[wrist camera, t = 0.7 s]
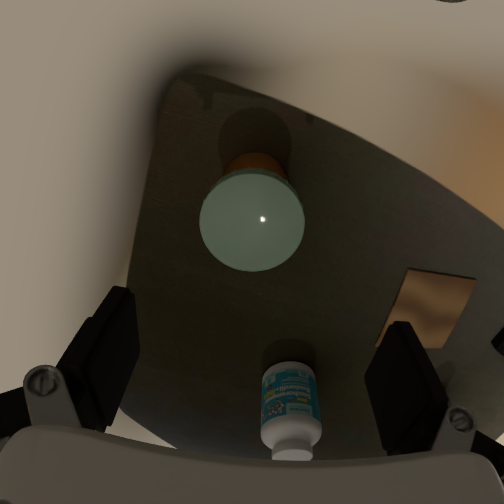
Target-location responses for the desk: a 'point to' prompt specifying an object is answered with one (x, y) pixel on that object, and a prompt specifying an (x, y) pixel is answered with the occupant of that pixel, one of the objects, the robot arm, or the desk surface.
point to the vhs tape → (499, 342)
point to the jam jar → (256, 163)
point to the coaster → (430, 305)
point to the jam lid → (252, 219)
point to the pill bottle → (290, 411)
